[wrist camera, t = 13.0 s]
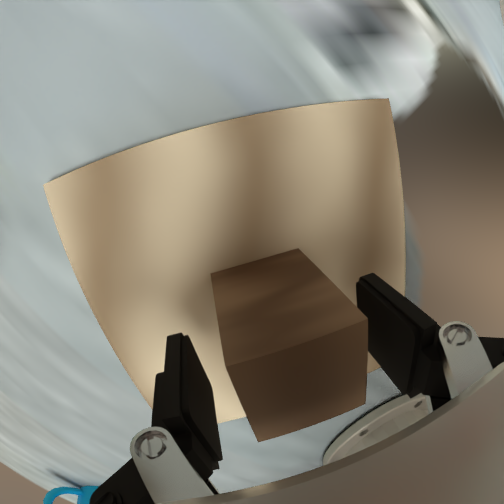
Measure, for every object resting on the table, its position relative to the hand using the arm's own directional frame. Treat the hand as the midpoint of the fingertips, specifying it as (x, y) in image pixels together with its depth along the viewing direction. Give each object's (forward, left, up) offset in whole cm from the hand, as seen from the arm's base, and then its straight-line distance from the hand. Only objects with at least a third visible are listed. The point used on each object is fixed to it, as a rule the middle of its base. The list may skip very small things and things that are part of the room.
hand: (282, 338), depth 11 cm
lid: (0, 0, -4) cm, 4 cm away
